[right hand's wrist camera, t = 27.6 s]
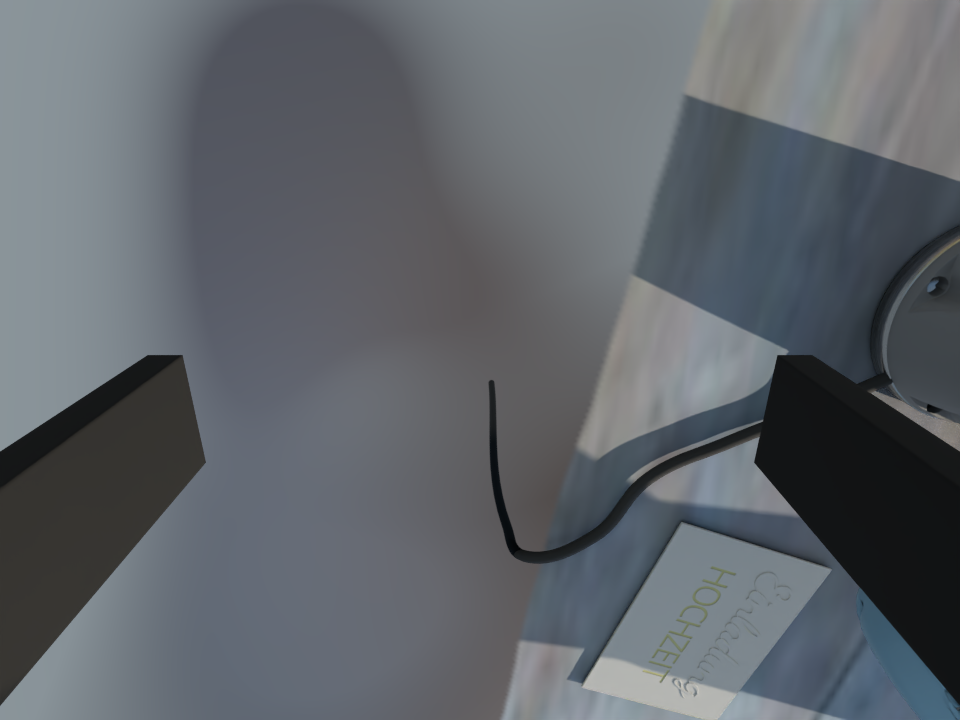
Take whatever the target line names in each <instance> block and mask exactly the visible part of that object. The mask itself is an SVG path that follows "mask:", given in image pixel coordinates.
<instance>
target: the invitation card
mask: <svg viewBox="0 0 960 720" xmlns="http://www.w3.org/2000/svg"><path fill="white" fill-rule="evenodd" d="M831 571H832V569H831V568H828V567H825V566H822V565H819V564H815V563H812V562H809V561H806V560H803V559H799V558H796V557H793V556H790V555H787V554H783V553H780V552H777V551H774V550H771V549H767V548H764V547H761V546H758V545H754V544H751V543H748V542H745V541H742V540H738V539H735V538H732V537H729V536H726V535H722V534H719V533H716V532H713V531H710V530H706V529H703V528H700V527H697V526H694V525H690V524H687V523H684V522H681V523H680V525H679V526H678V528H677V530H676V531H675V533H674V535H673V536H672V538H671V540H670V541H669V543H668V544H667V546H666V548H665V549H664V551H663V553H662V554H661V556H660V558H659V559H658V561H657V562H656V564H655V566H654V567H653V569H652V571H651V572H650V574H649V576H648V577H647V579H646V581H645V582H644V584H643V585H642V587H641V589H640V590H639V592H638V594H637V595H636V597H635V599H634V600H633V602H632V603H631V605H630V607H629V608H628V610H627V612H626V613H625V615H624V617H623V618H622V620H621V621H620V623H619V625H618V626H617V628H616V630H615V631H614V633H613V635H612V636H611V638H610V639H609V641H608V643H607V644H606V646H605V648H604V649H603V651H602V653H601V654H600V656H599V658H598V659H597V661H596V662H595V664H594V666H593V667H592V669H591V671H590V672H589V674H588V676H587V677H586V679H585V680H584V682H583V684H582V685H581V686H582V688H586V689H590V690H593V691H597V692H601V693H605V694H609V695H613V696H616V697H620V698H624V699H628V700H632V701H635V702H639V703H643V704H647V705H651V706H654V707H658V708H662V709H666V710H670V711H674V712H677V713H681V714H685V715H689V716H693V717H696V718H700V719H704V720H717V719H718V718H719V717H720V716H721V714H722V713H723V712H724V710H725V709H726V708H727V706H728V705H729V704H730V702H731V701H732V700H733V699H734V697H735V696H736V695H737V693H738V692H739V691H740V689H741V688H742V687H743V686H744V684H745V683H746V682H747V680H748V679H749V678H750V676H751V675H752V674H753V672H754V671H755V670H756V669H757V667H758V666H759V665H760V663H761V662H762V661H763V659H764V658H765V657H766V656H767V654H768V653H769V652H770V650H771V649H772V648H773V646H774V645H775V644H776V642H777V641H778V640H779V639H780V637H781V636H782V635H783V633H784V632H785V631H786V629H787V628H788V627H789V626H790V624H791V623H792V622H793V620H794V619H795V618H796V616H797V615H798V614H799V612H800V611H801V610H802V609H803V607H804V606H805V605H806V603H807V602H808V601H809V599H810V598H811V597H812V595H813V594H814V593H815V592H816V590H817V589H818V588H819V586H820V585H821V584H822V582H823V581H824V580H825V579H826V577H827V576H828V575H829V573H830V572H831Z"/></svg>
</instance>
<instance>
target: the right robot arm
mask: <svg viewBox="0 0 960 720" xmlns="http://www.w3.org/2000/svg"><path fill="white" fill-rule="evenodd" d="M871 355H872V360H873V364H874V367H875V370H876V373H877V374H878V375H877V376H875V377H872V378H870V379H868V380H865V381H863V382H861V383H858V384H855V383H854V382H852V381H851V380H849V379H848V378H846V377H845V376H843V375H842V374H840V373H839V372H837V371H836V370H834V369H833V368H831V367H829V366H828V365H826V364H825V363H823V362H822V361H820V360H819V359H817V358H816V357H814V356H813V355H777V360H776V364H775V369H774V374H773V378H772V383H771V388H770V392H769V397H768V401H767V406H766V411H765V415H764V420H763V422H761V423H758V424H756V425H753V426H751V427H748V428H746V429H743V430H741V431H738V432H736V433H733V434H731V435H729V436H726V437H724V438H721V439H719V440H716V441H714V442H711V443H709V444H706V445H703V446H700V447H698V448H695V449H692V450H690V451H687V452H684V453H682V454H679V455H677V456H675V457H672V458H670V459H668V460H666V461H664V462H662V463H661V464H659V465H657V466H655V467H654V468H652V469H651V470H649V471H648V472H646V473H645V474H644V475H642V476H641V477H640V478H638V479H637V480H636V481H635V482H634V483H633V484H632V485H631V486H630V487H629V489H628V490H627V491H626V492H625V493H624V495H623V496H622V498H621V499H620V500H619V502H618V503H617V505H616V506H615V508H614V509H613V510H612V512H611V513H610V514H609V516H608V517H607V518H606V519H605V520H604V521H603V522H602V523H601V524H600V525H599V526H598V527H596V528H595V529H593V530H592V531H590V532H589V533H587V534H586V535H584V536H582V537H580V538H579V539H577V540H575V541H573V542H571V543H569V544H567V545H564V546H562V547H559V548H556V549H553V550H549V551H543V552H531V551H526V550H523V549H521V548H520V547H519V546H518V545H517V543H516V539H515V535H514V531H513V528H512V525H511V522H510V519H509V516H508V513H507V510H506V506H505V502H504V498H503V494H502V488H501V483H500V475H499V467H498V453H497V420H496V394H495V383H494V381H493V380H490V381H489V383H488V384H489V410H490V411H489V412H490V414H489V446H490V470H491V479H492V487H493V493H494V499H495V503H496V507H497V512H498V515H499V518H500V522H501V525H502V528H503V532H504V536H505V541H506V544H507V547H508V549H509V552H510V553H511V554H512V555H513V556H514V557H515V558H517V559H519V560H521V561H523V562H528V563H536V564H541V563H549V562H554V561H558V560H561V559H564V558H566V557H569V556H571V555H573V554H576V553H578V552H580V551H581V550H583V549H585V548H587V547H589V546H590V545H592V544H594V543H595V542H597V541H598V540H600V539H601V538H603V537H604V536H605V535H607V534H608V533H609V532H610V531H611V530H612V529H613V528H614V527H615V526H616V525H617V524H618V522H619V521H620V520H621V519H622V517H623V516H624V514H625V513H626V512H627V510H628V509H629V507H630V506H631V505H632V503H633V502H634V501H635V499H636V498H637V497H638V496H639V495H640V494H641V493H642V492H643V491H644V490H645V489H646V488H647V487H648V486H650V485H651V484H652V483H654V482H655V481H657V480H658V479H660V478H661V477H663V476H665V475H666V474H668V473H670V472H672V471H674V470H676V469H678V468H681V467H683V466H685V465H688V464H690V463H693V462H696V461H698V460H701V459H704V458H707V457H709V456H712V455H715V454H717V453H720V452H723V451H725V450H728V449H730V448H733V447H735V446H737V445H740V444H742V443H745V442H747V441H750V440H752V439H755V438H757V437H760V438H759V443H758V447H757V452H756V457H755V461H754V463H755V464H756V465H757V466H758V468H759V469H760V470H761V471H762V472H763V473H764V475H765V476H766V477H767V478H768V479H769V481H770V482H771V483H772V484H773V485H774V486H775V488H776V489H777V490H778V491H779V492H780V494H781V495H782V496H783V497H784V498H785V499H786V501H787V502H788V503H789V504H790V505H791V507H792V508H793V509H794V510H795V511H796V512H797V514H798V515H799V516H800V517H801V518H802V520H803V521H804V522H805V523H806V524H807V525H808V527H809V528H810V529H811V530H812V531H813V533H814V534H815V535H816V536H817V537H818V538H819V540H820V541H821V542H822V543H823V544H824V546H825V547H826V548H827V549H828V550H829V551H830V553H831V554H832V555H833V556H834V557H835V559H836V560H837V561H838V562H839V563H840V565H841V566H842V567H843V568H844V569H845V570H846V572H847V573H848V574H849V575H850V576H851V578H852V579H853V580H854V581H855V582H856V583H857V585H858V586H859V587H860V588H859V590H858V593H857V598H856V606H857V614H858V617H859V620H860V624H861V628H862V631H863V633H864V635H865V638H866V640H867V642H868V644H869V646H870V648H871V650H872V652H873V653H874V655H875V657H876V659H877V660H878V662H879V663H880V665H881V667H882V668H883V670H884V671H885V673H886V674H887V676H888V677H889V679H890V680H891V682H892V683H893V685H894V686H895V687H896V689H897V690H898V692H899V693H900V694H901V696H902V697H903V698H904V700H905V701H906V702H907V703H908V705H909V706H910V707H911V709H912V710H913V711H914V712H915V714H916V715H917V716H918V717H919V718H920V720H960V451H958V450H956V449H955V448H953V447H952V446H950V445H949V444H947V443H946V442H944V441H943V440H941V439H940V438H938V437H937V436H935V435H934V434H932V433H930V432H929V431H927V430H926V429H924V428H923V427H921V426H920V425H918V424H917V423H915V422H914V421H912V420H911V419H909V418H908V417H906V416H904V415H903V414H901V413H900V412H898V411H897V410H895V409H894V408H892V407H891V406H889V405H888V404H886V403H885V402H883V401H881V400H880V399H878V398H877V397H875V396H874V395H872V394H871V392H874V391H876V390H879V389H881V388H883V387H886V388H887V389H888V390H889V391H890V392H891V393H892V394H893V395H894V396H896V397H897V398H899V399H900V400H902V401H903V402H905V403H906V404H908V405H910V406H911V407H913V408H914V409H916V410H918V411H920V412H922V413H924V414H926V415H928V416H931V417H934V418H938V419H942V420H946V421H950V422H955V423H960V226H958V227H956V228H954V229H952V230H950V231H949V232H947V233H945V234H943V235H942V236H940V237H938V238H937V239H935V240H934V241H933V242H931V243H930V244H928V245H927V246H926V247H925V248H923V249H922V250H921V251H920V252H919V253H917V254H916V255H915V256H914V257H913V258H912V259H911V260H910V261H909V262H908V263H907V264H906V265H905V266H904V268H903V269H902V270H901V271H900V272H899V274H898V275H897V276H896V277H895V279H894V280H893V282H892V283H891V285H890V286H889V288H888V289H887V291H886V293H885V295H884V296H883V298H882V300H881V303H880V305H879V307H878V309H877V312H876V315H875V318H874V323H873V327H872V333H871ZM205 463H206V461H205V457H204V452H203V447H202V443H201V438H200V434H199V429H198V424H197V420H196V415H195V411H194V406H193V401H192V397H191V392H190V388H189V383H188V378H187V374H186V369H185V365H184V360H183V356H182V355H147V356H146V357H144V358H143V359H141V360H140V361H138V362H137V363H135V364H134V365H132V366H131V367H129V368H127V369H126V370H124V371H123V372H121V373H120V374H118V375H117V376H115V377H114V378H112V379H111V380H109V381H108V382H106V383H105V384H103V385H102V386H100V387H98V388H97V389H95V390H94V391H92V392H91V393H89V394H88V395H86V396H85V397H83V398H82V399H80V400H79V401H77V402H75V403H74V404H72V405H71V406H69V407H68V408H66V409H65V410H63V411H62V412H60V413H59V414H57V415H56V416H54V417H52V418H51V419H50V420H48V421H46V422H45V423H43V424H42V425H40V426H39V427H37V428H36V429H34V430H33V431H31V432H30V433H28V434H27V435H25V436H23V437H22V438H20V439H19V440H17V441H16V442H14V443H13V444H11V445H10V446H8V447H7V448H5V449H4V450H2V451H0V705H1V704H2V703H3V702H4V701H5V699H6V698H7V697H8V696H9V695H10V693H11V692H12V691H13V690H14V689H15V688H16V686H17V685H18V684H19V683H20V682H21V680H22V679H23V678H24V677H25V676H26V674H27V673H28V672H29V671H30V670H31V669H32V667H33V666H34V665H35V664H36V663H37V661H38V660H39V659H40V658H41V657H42V656H43V654H44V653H45V652H46V651H47V650H48V648H49V647H50V646H51V645H52V644H53V643H54V641H55V640H56V639H57V638H58V637H59V635H60V634H61V633H62V632H63V631H64V629H65V628H66V627H67V626H68V625H69V624H70V622H71V621H72V620H73V619H74V618H75V617H76V615H77V614H78V613H79V612H80V611H81V609H82V608H83V607H84V606H85V605H86V604H87V602H88V601H89V600H90V599H91V598H92V596H93V595H94V594H95V593H96V592H97V590H98V589H99V588H100V587H101V586H102V585H103V583H104V582H105V581H106V580H107V579H108V578H109V576H110V575H111V574H112V573H113V572H114V570H115V569H116V568H117V567H118V566H119V564H120V563H121V562H122V561H123V560H124V559H125V557H126V556H127V555H128V554H129V553H130V551H131V550H132V549H133V548H134V547H135V545H136V544H137V543H138V542H139V541H140V540H141V538H142V537H143V536H144V535H145V534H146V533H147V531H148V530H149V529H150V528H151V527H152V525H153V524H154V523H155V522H156V521H157V520H158V518H159V517H160V516H161V515H162V514H163V512H164V511H165V510H166V509H167V508H168V507H169V505H170V504H171V503H172V502H173V501H174V499H175V498H176V497H177V496H178V495H179V493H180V492H181V491H182V490H183V489H184V488H185V486H186V485H187V484H188V483H189V482H190V480H191V479H192V478H193V477H194V476H195V475H196V473H197V472H198V471H199V470H200V469H201V467H202V466H203V465H204V464H205Z"/></svg>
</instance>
